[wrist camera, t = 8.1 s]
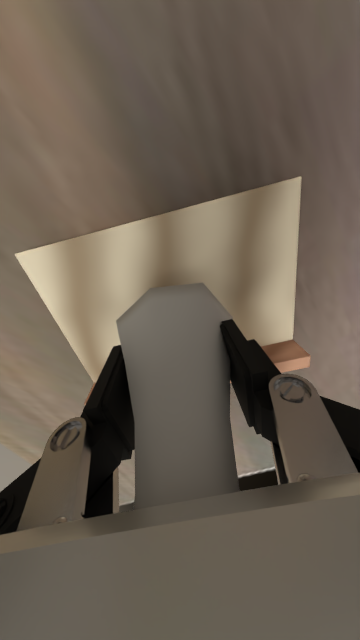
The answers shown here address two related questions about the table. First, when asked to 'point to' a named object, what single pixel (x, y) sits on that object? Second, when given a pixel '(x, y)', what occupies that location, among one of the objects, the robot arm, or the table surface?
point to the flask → (179, 395)
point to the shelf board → (181, 271)
